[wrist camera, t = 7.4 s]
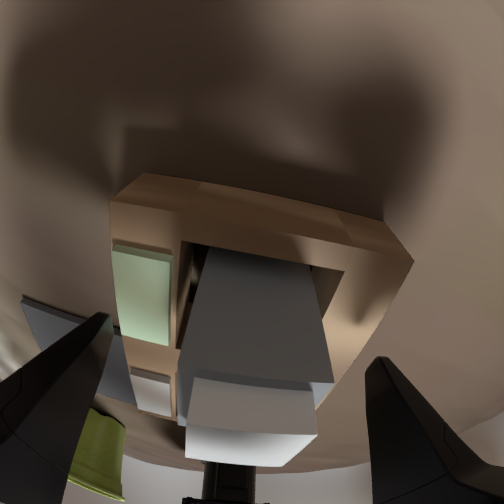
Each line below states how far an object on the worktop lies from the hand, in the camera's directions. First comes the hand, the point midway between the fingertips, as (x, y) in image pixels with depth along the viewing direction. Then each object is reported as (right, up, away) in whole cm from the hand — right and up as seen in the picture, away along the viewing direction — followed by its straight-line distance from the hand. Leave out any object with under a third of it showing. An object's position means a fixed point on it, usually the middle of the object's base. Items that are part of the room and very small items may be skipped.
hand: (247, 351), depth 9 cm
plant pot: (-16, -15, +15) cm, 27 cm away
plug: (0, +2, +4) cm, 5 cm away
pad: (-12, -5, +8) cm, 15 cm away
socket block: (-1, -1, +6) cm, 6 cm away
